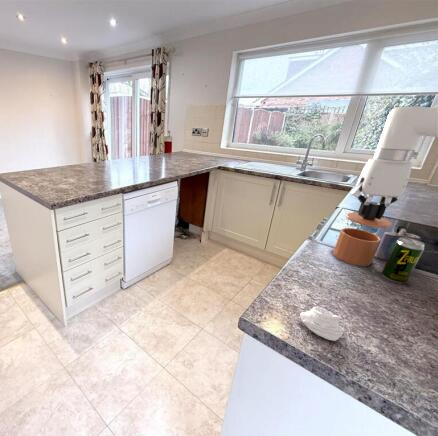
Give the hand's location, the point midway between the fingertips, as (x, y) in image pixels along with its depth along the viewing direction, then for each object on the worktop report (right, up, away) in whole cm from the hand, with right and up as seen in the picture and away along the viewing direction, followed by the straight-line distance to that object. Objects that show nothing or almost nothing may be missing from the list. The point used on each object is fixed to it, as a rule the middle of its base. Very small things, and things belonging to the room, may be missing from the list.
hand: (369, 216), depth 75 cm
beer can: (+3, -18, -4) cm, 19 cm away
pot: (-1, -14, +6) cm, 15 cm away
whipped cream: (-30, -24, -21) cm, 44 cm away
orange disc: (0, -1, +1) cm, 1 cm away
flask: (+12, -14, +6) cm, 19 cm away
